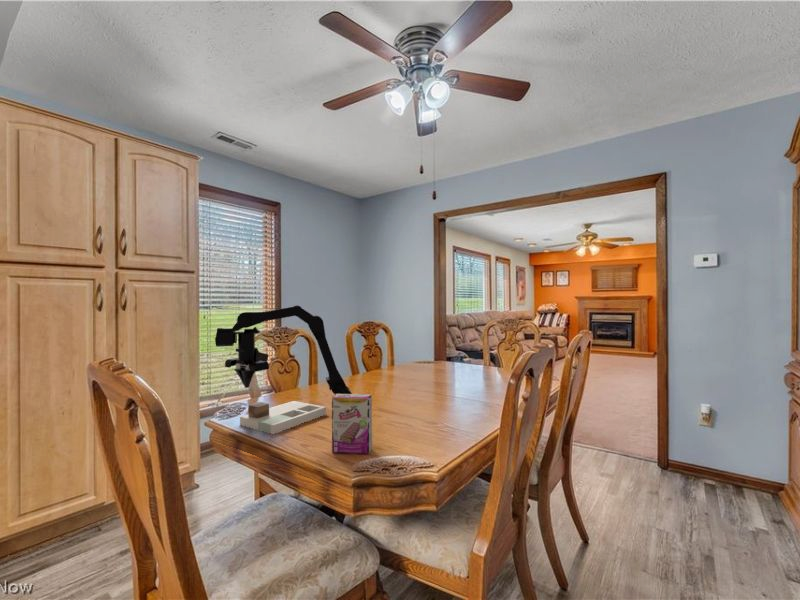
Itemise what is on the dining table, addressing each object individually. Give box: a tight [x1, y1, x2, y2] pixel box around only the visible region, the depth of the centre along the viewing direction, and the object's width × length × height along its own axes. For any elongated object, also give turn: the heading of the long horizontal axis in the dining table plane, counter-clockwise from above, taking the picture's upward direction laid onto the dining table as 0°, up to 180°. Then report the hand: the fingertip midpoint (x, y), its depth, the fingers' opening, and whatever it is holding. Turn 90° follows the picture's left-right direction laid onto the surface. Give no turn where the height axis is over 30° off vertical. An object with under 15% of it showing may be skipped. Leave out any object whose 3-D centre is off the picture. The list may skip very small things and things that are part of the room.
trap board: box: [239, 400, 327, 435], centre depth 142 cm, size 18×25×3 cm
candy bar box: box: [331, 393, 373, 455], centre depth 112 cm, size 11×5×16 cm, turn 84°
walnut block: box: [247, 401, 270, 418], centre depth 138 cm, size 5×5×4 cm
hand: (246, 387), depth 142 cm, fingers closed
